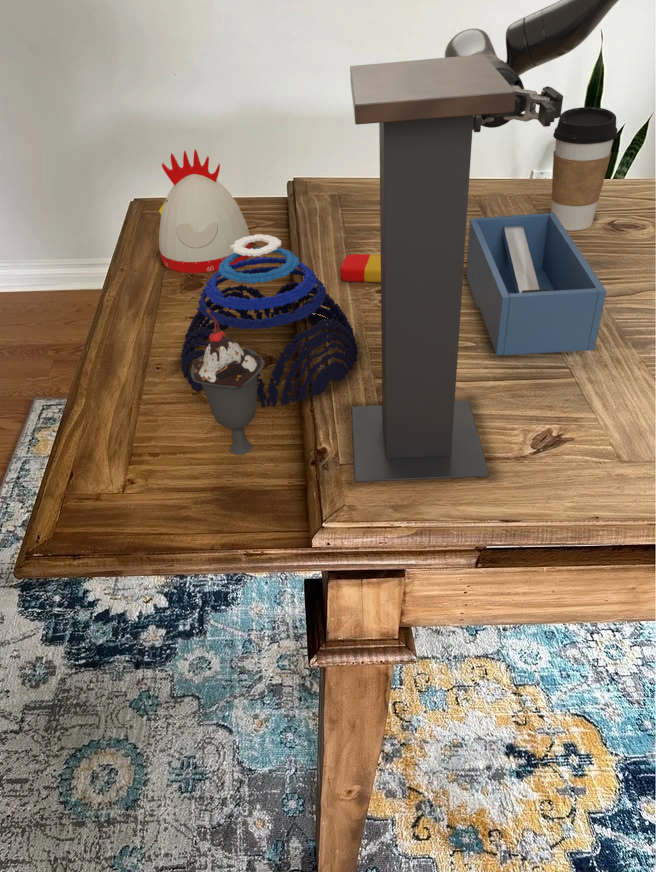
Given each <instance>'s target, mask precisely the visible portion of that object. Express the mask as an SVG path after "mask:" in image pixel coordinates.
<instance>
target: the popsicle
mask: <svg viewBox="0 0 656 872" xmlns="http://www.w3.org/2000/svg"><path fill="white" fill-rule="evenodd" d="M339 272H340V278H341V280H342V281H344V282H350V283H381V254H359V253H358V254H357V253H355V254H348V255H347V256H346V257H344V259H343V261H342V264H341V266H340V271H339Z"/></svg>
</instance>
